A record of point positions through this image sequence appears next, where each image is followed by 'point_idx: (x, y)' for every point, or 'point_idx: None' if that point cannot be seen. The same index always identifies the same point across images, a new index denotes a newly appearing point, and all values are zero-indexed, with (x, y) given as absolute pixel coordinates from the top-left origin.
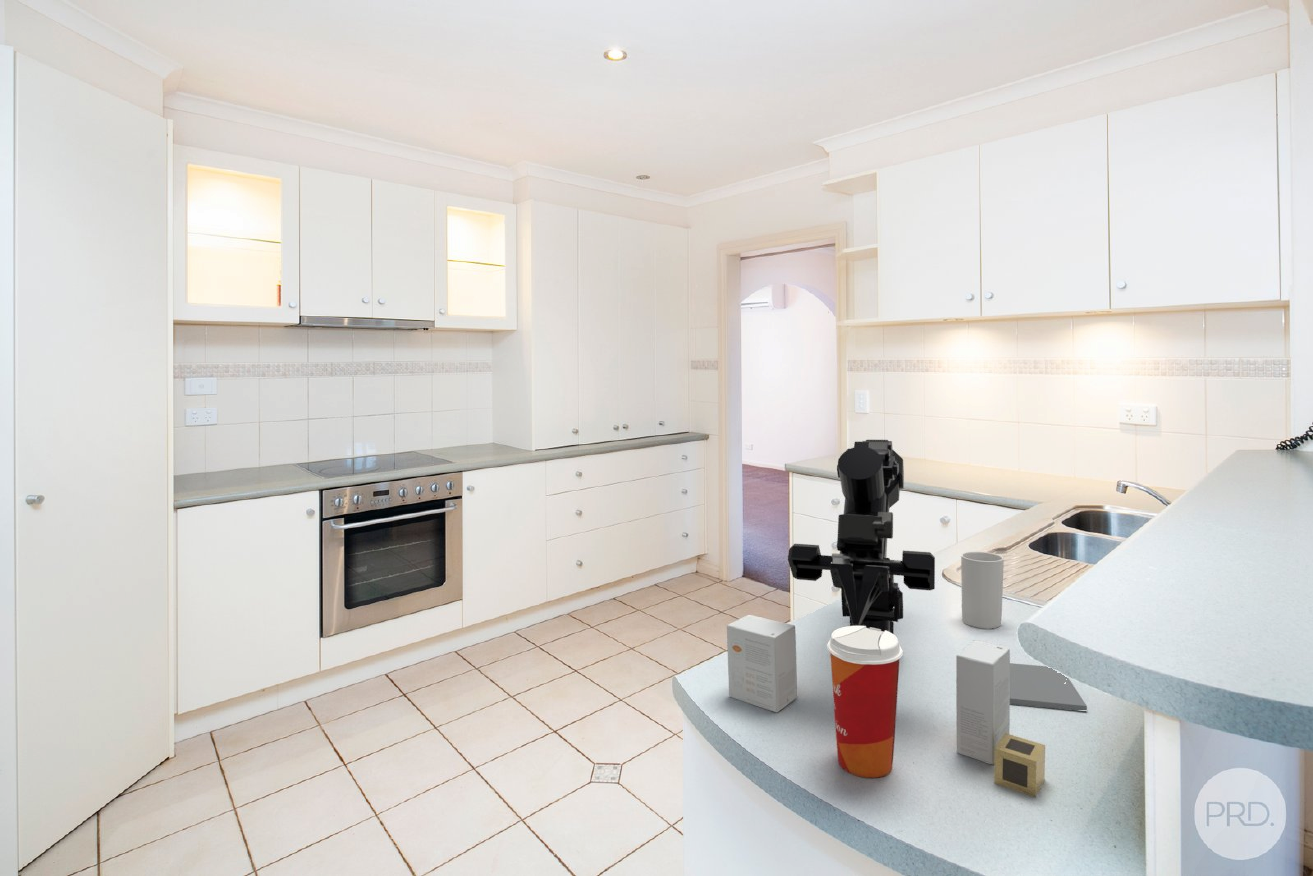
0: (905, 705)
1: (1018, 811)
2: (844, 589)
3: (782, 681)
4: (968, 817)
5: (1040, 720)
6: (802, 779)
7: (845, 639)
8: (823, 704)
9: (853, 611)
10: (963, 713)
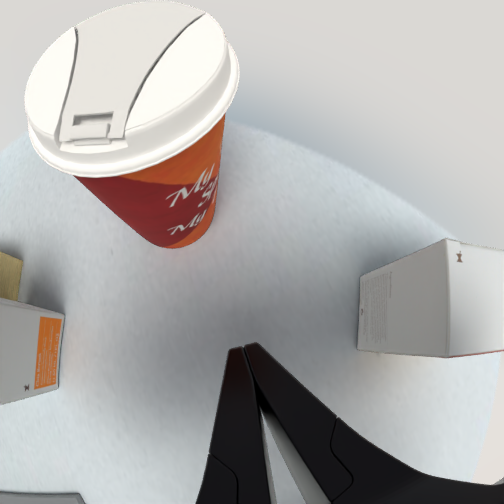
0: (175, 436)
1: (6, 216)
2: (370, 442)
3: (382, 289)
4: (47, 173)
5: (13, 458)
6: (238, 132)
7: (170, 19)
8: (308, 358)
9: (267, 375)
10: (20, 305)
